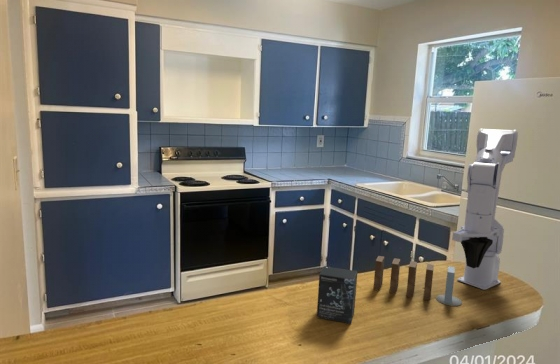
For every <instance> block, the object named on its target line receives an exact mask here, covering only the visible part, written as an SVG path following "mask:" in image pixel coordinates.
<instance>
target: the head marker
mask: <svg viewBox="0 0 560 364" xmlns="http://www.w3.org/2000/svg"><path fill="white" fill-rule="evenodd" d="M435 298H436V299H435V300H436V301H437V302H438V303H441V304H443V305H445V306H450V307H459V306H461V305H462V304H463V301H462V300H461V299H460V298H458V297H456V296H453V295H452V303H451V304H450V303H444V302H445V294H439V295H436V297H435Z"/></svg>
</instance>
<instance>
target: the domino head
mask: <svg viewBox="0 0 560 364" xmlns="http://www.w3.org/2000/svg"><path fill="white" fill-rule="evenodd" d="M455 268H456V267H455V266H447V271H446V281H445V291H444V295H445V302H444V303H450V304H451V303H452V296H453V293H454V283H455V275H456V274H455V273H456V269H455Z"/></svg>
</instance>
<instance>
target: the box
mask: <svg viewBox="0 0 560 364" xmlns="http://www.w3.org/2000/svg"><path fill="white" fill-rule="evenodd" d="M357 281H358V271H357V270H351V269H347V268H346V269H344V268H338V267H330V266H328V265H327V266H326V265H324V266H323V267H322V269H321V271H320V273H319V274H318V289H317V290H318V292H317V305H316V306H317V307H316V318H317V319H318V318H319V319H324V320H328V321H334V322H340V323H344V324H348V325H351V324H352V321H353V318H354V314H355V308H356V306H355V304H356V297H357Z"/></svg>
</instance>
